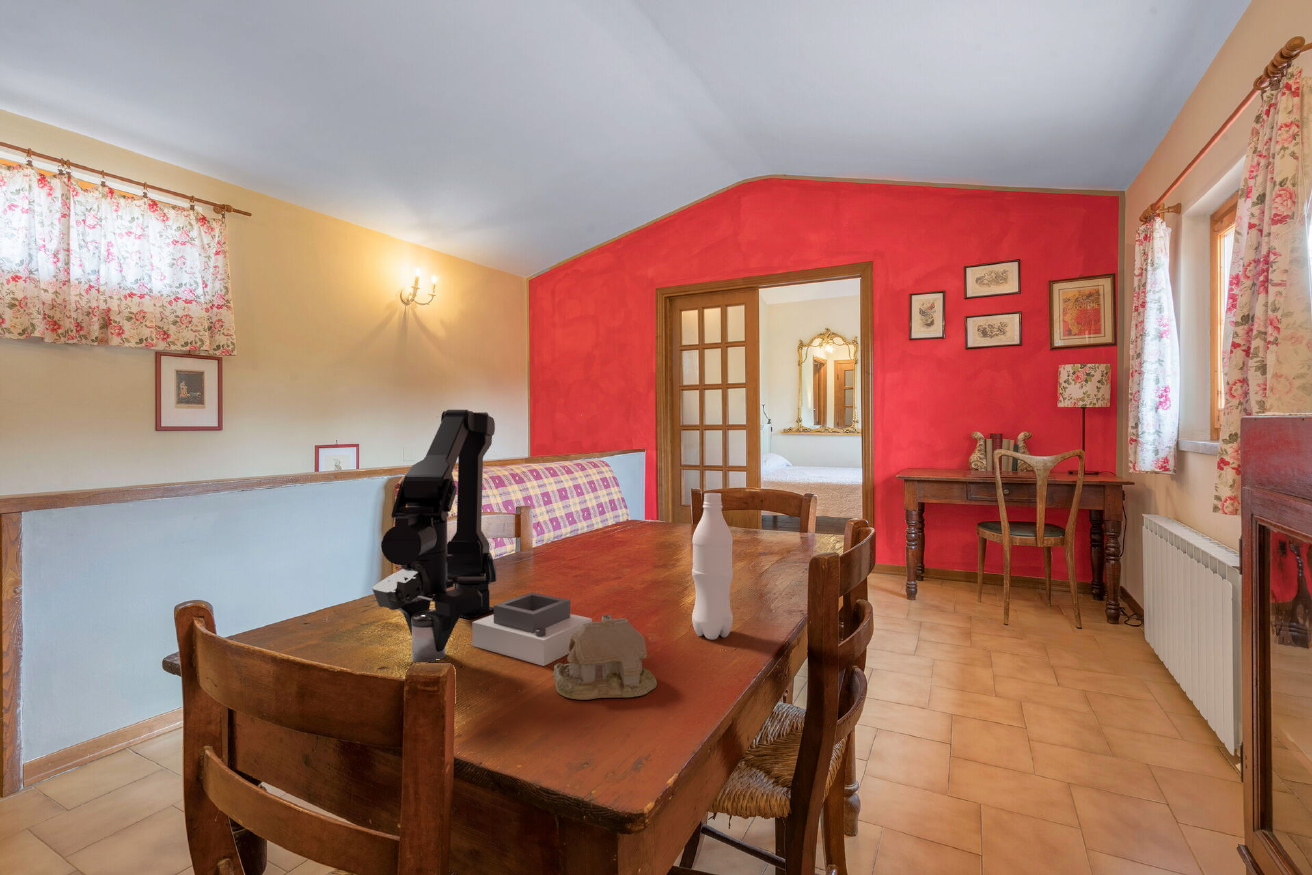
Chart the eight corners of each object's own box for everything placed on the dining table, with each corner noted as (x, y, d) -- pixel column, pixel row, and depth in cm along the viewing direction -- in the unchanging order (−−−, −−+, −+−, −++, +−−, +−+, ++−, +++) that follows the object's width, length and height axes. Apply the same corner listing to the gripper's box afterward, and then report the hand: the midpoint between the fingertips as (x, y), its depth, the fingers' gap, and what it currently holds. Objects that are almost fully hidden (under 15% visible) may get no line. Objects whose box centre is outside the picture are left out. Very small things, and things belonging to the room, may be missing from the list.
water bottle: (706, 644, 99) (706, 497, 99) (684, 631, 106) (684, 492, 105) (740, 637, 103) (741, 494, 102) (718, 625, 109) (718, 490, 109)
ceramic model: (638, 663, 92) (638, 599, 92) (665, 694, 81) (666, 622, 81) (548, 677, 87) (548, 610, 86) (565, 712, 76) (565, 635, 76)
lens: (404, 659, 93) (404, 615, 93) (432, 648, 98) (431, 606, 97) (425, 666, 90) (425, 621, 90) (453, 655, 95) (453, 612, 95)
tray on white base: (472, 645, 99) (472, 604, 99) (523, 625, 109) (523, 587, 109) (543, 666, 90) (543, 620, 90) (591, 641, 101) (591, 601, 101)
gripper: (345, 553, 92) (346, 652, 92) (422, 568, 82) (423, 679, 82) (408, 541, 101) (409, 631, 101) (484, 553, 91) (484, 653, 92)
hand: (429, 647), depth 94 cm, fingers closed on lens, 5 cm apart
